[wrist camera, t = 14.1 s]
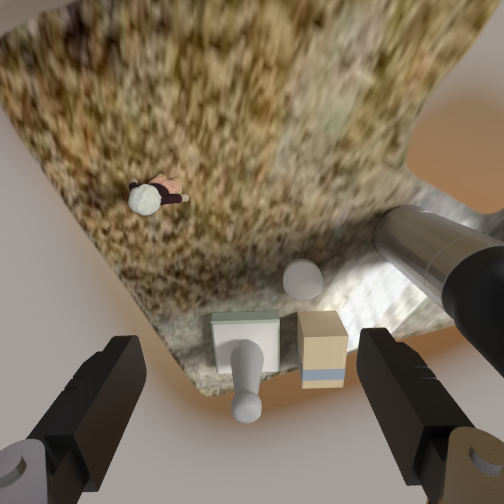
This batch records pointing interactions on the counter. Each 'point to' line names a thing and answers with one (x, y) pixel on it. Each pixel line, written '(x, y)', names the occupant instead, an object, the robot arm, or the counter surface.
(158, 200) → the grandmother figurine
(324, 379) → the kraft carton
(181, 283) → the counter surface
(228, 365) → the podium
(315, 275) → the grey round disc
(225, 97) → the counter surface
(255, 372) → the salt shaker
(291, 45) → the counter surface
